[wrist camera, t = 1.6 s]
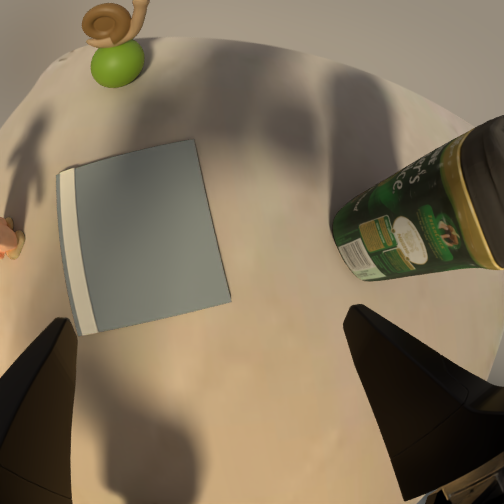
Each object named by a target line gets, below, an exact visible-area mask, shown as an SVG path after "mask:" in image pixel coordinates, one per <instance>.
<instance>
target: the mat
mask: <svg viewBox="0 0 504 504" xmlns="http://www.w3.org/2000/svg"><path fill="white" fill-rule="evenodd" d="M56 193H57V214H58V227H59V238H60V247H61V254H62V262H63V268H64V274H65V280H66V285H67V291H68V296H69V300H70V305H71V309H72V314H73V318H74V322H75V326H76V329H77V333H78V336H83V335H88V334H94V333H98V332H103V331H108V330H113V329H118V328H122V327H127V326H132V325H137V324H141V323H146V322H150V321H155V320H159V319H164V318H168V317H172V316H177V315H181V314H185V313H189V312H194V311H198V310H202V309H206V308H210V307H214V306H218V305H222V304H226V303H229V302H231V298H230V294H229V290H228V286H227V282H226V278H225V274H224V270H223V266H222V262H221V258H220V254H219V250H218V246H217V241H216V237H215V233H214V229H213V224H212V220H211V216H210V211H209V207H208V203H207V198H206V194H205V189H204V185H203V180H202V175H201V171H200V166H199V161H198V157H197V152H196V147H195V142H194V139H191V140H185V141H180V142H175V143H170V144H165V145H160V146H156V147H151V148H147V149H142V150H138V151H134V152H130V153H126V154H122V155H119V156H115V157H111V158H108V159H104V160H101V161H97V162H94V163H91V164H88V165H84V166H81V167H78V168H72V169H69V170H66V171H63V172H60V174H58V175H56Z"/></svg>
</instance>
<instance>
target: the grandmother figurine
mask: <svg viewBox="0 0 504 504" xmlns="http://www.w3.org/2000/svg"><path fill="white" fill-rule="evenodd" d="M12 229H13V221H12V219H11V218H10V217H8V218H6V219H4V218H2V217H0V259H3V258H4V253H6V254H7V256H8V257H9V258H10V259H13V260H14V259H17V258H18V256H19V254H20V252H21V249H22V247H23V244H24V242H25V236H24V234H23V233H22V232H21V231H20V230H18V231H16V232H15V233H14V231H13V230H12Z"/></svg>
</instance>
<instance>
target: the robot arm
mask: <svg viewBox="0 0 504 504" xmlns="http://www.w3.org/2000/svg"><path fill="white" fill-rule="evenodd" d="M343 329H344V332H345V336H346V339H347V342H348V345H349V349H350V352H351V355H352V359H353V362H354V365H355V368H356V370H357V373H358V375H359V378H360V380H361V382H362V385H363V387H364V390H365V392H366V395H367V398H368V400H369V403H370V405H371V408H372V410H373V413H374V416H375V418H376V421H377V424H378V426H379V429H380V432H381V434H382V437H383V440H384V443H385V445H386V448H387V451H388V454H389V457H390V460H391V463H392V466H393V469H394V472H395V475H396V478H397V481H398V484H399V487H400V490H401V494H402V497H403V499H404V501H408V500H411V499H413V498H416V497H419V496H421V495H424V494H426V493H429V492H431V491H433V490H436V489H437V490H436V491H434V492H433V493H431V494H430V495H429V496H428V497H427V500H426V503H425V504H504V387H500V386H495V385H492V384H490V383H488V382H487V381H485V380H483V379H481V378H479V377H478V376H476V375H474V374H472V373H470V372H469V371H467V370H465V369H463V368H462V367H460V366H458V365H457V364H455V363H453V362H452V361H450V360H449V359H447V358H446V357H444V356H443V355H440V354H439V353H438V352H436V351H435V350H433V349H432V348H430V347H429V346H427V345H426V344H424V343H423V342H421V341H419V340H418V339H416V338H415V337H413V336H412V335H410V334H409V333H407V332H406V331H404V330H402V329H401V328H399V327H398V326H396V325H395V324H393V323H392V322H390V321H388V320H387V319H385V318H384V317H382V316H381V315H379V314H377V313H376V312H374V311H373V310H371V309H369V308H368V307H366V306H365V305H363V304H357V305H352V306H351V307H350V308H349V311H348V313H347V315H346V317H345V320H344V322H343ZM77 345H78V340H77V336H76V333H75V331H74V329H73V326H72V324H71V322H70V320H69V319H68V318H63V317H57V318H55V319H54V320H53V321H52V322H51V323H50V324H49V325H48V326H47V327H46V328H45V329H44V330H43V331H42V332H41V333H40V335H39V336H38V337H37V338H36V339H35V340H34V341H33V342H32V343H31V344H30V345H29V346H28V347H27V348H26V349H25V351H24V352H23V353H22V354H21V355H20V356H19V357H18V358H17V359H16V361H15V362H14V363H13V364H12V365H11V366H10V367H9V369H8V370H7V371H6V372H5V373H4V374H3V376H2V377H1V378H0V504H72V493H71V468H70V454H71V427H72V414H73V403H74V394H75V382H76V359H77Z"/></svg>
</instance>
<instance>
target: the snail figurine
mask: <svg viewBox="0 0 504 504" xmlns="http://www.w3.org/2000/svg"><path fill="white" fill-rule="evenodd" d="M149 2H150V0H133V1H132V3H133V6H134V11H133V15H132V18H131V16H130V14H129V12H128V11H127V10H126V9H125V8H124V7H122V6H120V5H118V4H114V3H104V4H100V5H97V6H95V7H93V8H92V9H90V10H89V11H88V12H87V13H86V14H85V16H84V17H83V21H82V29H83V31H84V33H85V34H86V35H88V36H89V37H91V38H93V39H88V40H87V41H86V42H87V44H89V45H91V46H93V47H96V48H98V50H97V51H96V52H95V54H94V56H93V58H92V61H91V73H92V76H93V78H94V79H95V80H96V82H98V83H99V84H100V85H102V86H104V87H108V88H118V87H122V86H124V85H127V84H129V83H130V82H132V81H133V80H134V79H135V78H136V77H137V76H138V75H139V73H140V72H141V70H142V68H143V65H144V52H143V49H142V47H141V46H140V45H139V44H138V43H137V42H136V41H134V40H132V39H133V38H134V37H135V36H136V35H137V34H138V33H139V31H140V30H141V28H142V26H143V23H144V19H145V15H146V11H147V6H148V4H149Z"/></svg>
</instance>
